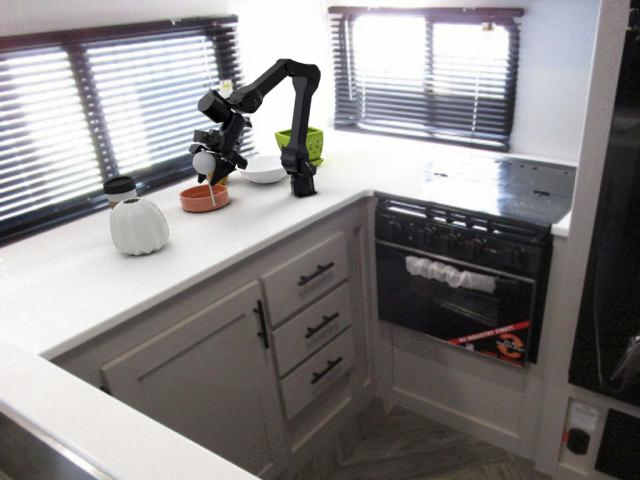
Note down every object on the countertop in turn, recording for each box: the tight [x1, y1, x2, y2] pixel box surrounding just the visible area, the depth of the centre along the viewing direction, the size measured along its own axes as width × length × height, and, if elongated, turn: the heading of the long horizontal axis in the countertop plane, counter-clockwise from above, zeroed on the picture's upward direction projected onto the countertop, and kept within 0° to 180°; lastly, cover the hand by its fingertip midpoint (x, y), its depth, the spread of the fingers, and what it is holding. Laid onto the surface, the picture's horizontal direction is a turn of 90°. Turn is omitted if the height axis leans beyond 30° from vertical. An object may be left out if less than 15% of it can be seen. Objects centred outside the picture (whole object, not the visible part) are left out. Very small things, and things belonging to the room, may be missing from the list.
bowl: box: [235, 154, 288, 184], centre depth 196 cm, size 20×20×6 cm
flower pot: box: [274, 125, 324, 167], centre depth 209 cm, size 14×14×13 cm
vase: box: [109, 196, 171, 256], centre depth 148 cm, size 14×14×13 cm
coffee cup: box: [102, 175, 139, 211], centre depth 159 cm, size 8×8×15 cm
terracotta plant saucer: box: [178, 183, 231, 213], centre depth 178 cm, size 14×14×4 cm
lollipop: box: [192, 152, 216, 206], centre depth 154 cm, size 6×6×15 cm
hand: (204, 184), depth 154 cm, fingers closed on lollipop, 5 cm apart
